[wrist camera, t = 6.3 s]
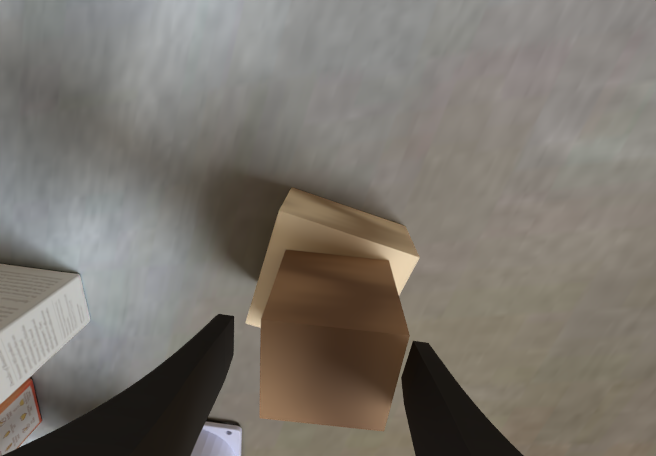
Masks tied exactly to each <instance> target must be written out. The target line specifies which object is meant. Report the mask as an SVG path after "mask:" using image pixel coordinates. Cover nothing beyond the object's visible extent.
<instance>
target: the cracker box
mask: <svg viewBox="0 0 656 456" xmlns="http://www.w3.org/2000/svg"><path fill="white" fill-rule="evenodd" d="M41 421H42V419H41V415H40V411H39V407H38V402H37V398H36V394H35V389H34V385H33V381H32V379H30V378H28V379H27V380H26V381H25V382H24V383H23V384H22V385H21V386H20V387H19V388H18V389H17V390H16V391H14V392H13V393H12V394H11V395H10V396H9V397H8V398H7V399H6V400H5V401H4V402H2V403H1V404H0V456H2V455H4V454H6V453H9V452H11V451H13V450H15V449H17V448H18V447H19V446H20V445H21V444H22V443H23V442H24V441H25V439H26V438H27V437H28V436H29V435H30V434H31V433H32V432H33V431H34V429H35V428H36V427H37V426H38V425H39V424H40V423H41Z"/></svg>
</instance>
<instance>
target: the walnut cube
mask: <svg viewBox="0 0 656 456" xmlns="http://www.w3.org/2000/svg"><path fill="white" fill-rule="evenodd" d="M409 336H410V335H409V331H408V328H407V324H406V320H405V317H404V313H403V310H402V306H401V302H400V299H399V295H398V291H397V288H396V284H395V281H394V277H393V273H392V270H391V266H390V262H389V260H380V259H371V258H361V257H352V256H343V255H333V254H324V253H315V252H305V251H296V250H287V249H286V250H285V253H284V256H283V258H282V261H281V264H280V267H279V270H278V273H277V275H276V278H275V281H274V284H273V287H272V289H271V292H270V295H269V298H268V301H267V304H266V306H265V309H264V312H263V315H262V318H261V347H260V418H264V419H273V420H283V421H292V422H301V423H311V424H320V425H330V426H339V427H349V428H358V429H368V430H377V431H384V429H385V425H386V422H387V418H388V414H389V411H390V407H391V403H392V399H393V396H394V392H395V388H396V384H397V381H398V377H399V373H400V369H401V366H402V362H403V358H404V355H405V351H406V347H407V343H408V340H409Z"/></svg>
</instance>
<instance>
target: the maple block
mask: <svg viewBox="0 0 656 456" xmlns="http://www.w3.org/2000/svg"><path fill="white" fill-rule="evenodd" d="M286 249H287V250H296V251H305V252H315V253H324V254H333V255H343V256H352V257H361V258H371V259H380V260H389V262H390V266H391V270H392V273H393V277H394V281H395V284H396V288H397V291H398V295H400V293H401V291H402V289H403V287H404V286H405V284H406V282H407V280H408V278H409V276H410V274H411V273H412V271H413V269H414V267H415V265H416V263H417V261H418V259H419V258H420V257H419V255H418V253H417V251H416V248H415V246H414V244H413V242H412V240H411V237H410V235H409V233H408V231H407V229H406V226H403V225H400V224H398V223H395V222H392V221H389V220H386V219H383V218H380V217H377V216H374V215H371V214H368V213H366V212H363V211H360V210H357V209H354V208H351V207H348V206H345V205H342V204H339V203H336V202H333V201H331V200H328V199H325V198H322V197H319V196H316V195H313V194H310V193H307V192H304V191H301V190H298V189H296V188H293V187H291V189H290V191H289V193H288V195H287V197H286V198H285V200H284V202H283V204H282V206H281V208H280V210H279V212H278V216H277V219H276V222H275V226H274V229H273V232H272V236H271V239H270V242H269V246H268V249H267V252H266V256H265V259H264V263H263V266H262V269H261V273H260V276H259V279H258V283H257V286H256V289H255V293H254V296H253V299H252V303H251V306H250V310H249V313H248V316H247V320H246V324H249V325H253V326H256V327H260V328H261V318H262V315H263V312H264V309H265V306H266V304H267V301H268V298H269V295H270V292H271V289H272V287H273V284H274V281H275V278H276V275H277V273H278V270H279V267H280V264H281V261H282V258H283V256H284V253H285V250H286Z"/></svg>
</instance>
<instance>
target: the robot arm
mask: <svg viewBox="0 0 656 456" xmlns="http://www.w3.org/2000/svg"><path fill="white" fill-rule="evenodd" d="M233 352H234V316H229V315H222V314H218V315H217V316H215V317H214V318H213V319H212V320H211V321H210V322H209V323H208V324H207V325H206V326H205V327H204V328H203V329H202V330H201V331H200V332H198V333H197V334H196V335H195V336H194V337H193V338H192V339H191V340H190V341H188V342H187V343H186V344H185V345H184V346H183V347H181V348H180V349H179V350H178V351H177V352H176V353H174V354H173V355H172V356H171V357H169V358H168V359H167V360H166V361H164V362H163V363H162V364H161V365H159V366H158V367H157V368H156V369H154V370H153V371H152V372H150V373H149V374H147V375H146V376H145V377H143V378H142V379H141V380H139V381H138V382H136V383H135V384H133V385H132V386H130V387H129V388H127V389H126V390H124V391H123V392H121V393H120V394H118V395H116V396H115V397H113V398H112V399H110V400H109V401H107V402H105V403H104V404H102V405H100V406H99V407H97V408H95V409H94V410H92V411H90V412H88V413H87V414H85V415H83V416H81V417H79V418H77V419H76V420H74V421H72V422H70V423H68V424H66V425H64V426H62V427H61V428H59V429H57V430H55V431H53V432H51V433H49V434H47V435H45V436H43V437H41V438H38V439H36V440H34V441H32V442H30V443H28V444H26V445H24V446H21V447H19V448H17V449H15V450H13V451H11V452H9V453H6V454H4V455H2V456H241V442H242V429H241V428H240V427H239V426H236V425H229V424H222V423H214V422H207V421H206V420H207V418H208V416H209V413H210V411H211V409H212V407H213V405H214V403H215V401H216V398H217V396H218V394H219V392H220V390H221V388H222V385H223V383H224V381H225V378H226V375H227V373H228V370H229V367H230V364H231V361H232V358H233ZM401 379H402V389H403V398H404V406H405V410H406V415H407V419H408V424H409V428H410V433H411V437H412V442H413V446H414V450H415V455H416V456H523V455H522V454H521V453H520V452H519V451H518V450H517V449H516V448H515V447H514V446H513V445H512V444H511V443H510V442H509V441H508V440H507V439H506V438H505V437H504V436H503V435H502V434H501V433H500V431H499V430H498V429H497V428H496V427H495V426H494V425H493V424H492V423H491V422H490V421H489V420H488V419H487V418H486V416H485V415H484V414H483V413H482V412H481V411H480V409H479V408H478V407H477V406H476V405H475V404H474V402H473V401H472V400H471V399H470V398H469V396H468V395H467V394H466V393H465V391H464V390H463V389H462V388H461V386H460V385H459V384H458V382H457V381H456V380H455V379H454V377H453V376H452V375H451V373H450V372H449V371H448V369H447V368H446V366H445V365H444V364H443V362H442V361H441V360H440V358H439V357H438V356H437V354H436V353H435V351H434V350H433V349H432V347H431V346H430V345H429V343H425V342H417V341H413V343H412V346H411V349H410V352H409V356H408V359H407V362H406V365H405V368H404V371H403V374H402V377H401Z"/></svg>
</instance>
